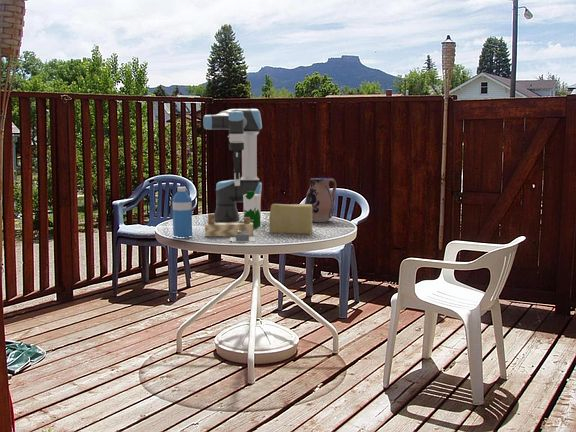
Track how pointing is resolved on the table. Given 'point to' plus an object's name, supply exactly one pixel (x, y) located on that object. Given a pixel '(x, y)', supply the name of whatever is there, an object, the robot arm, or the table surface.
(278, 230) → the cheese
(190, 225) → the water bottle
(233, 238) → the mat
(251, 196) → the milk carton
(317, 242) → the table surface
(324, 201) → the ceramic pitcher
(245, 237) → the lever cap
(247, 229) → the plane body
